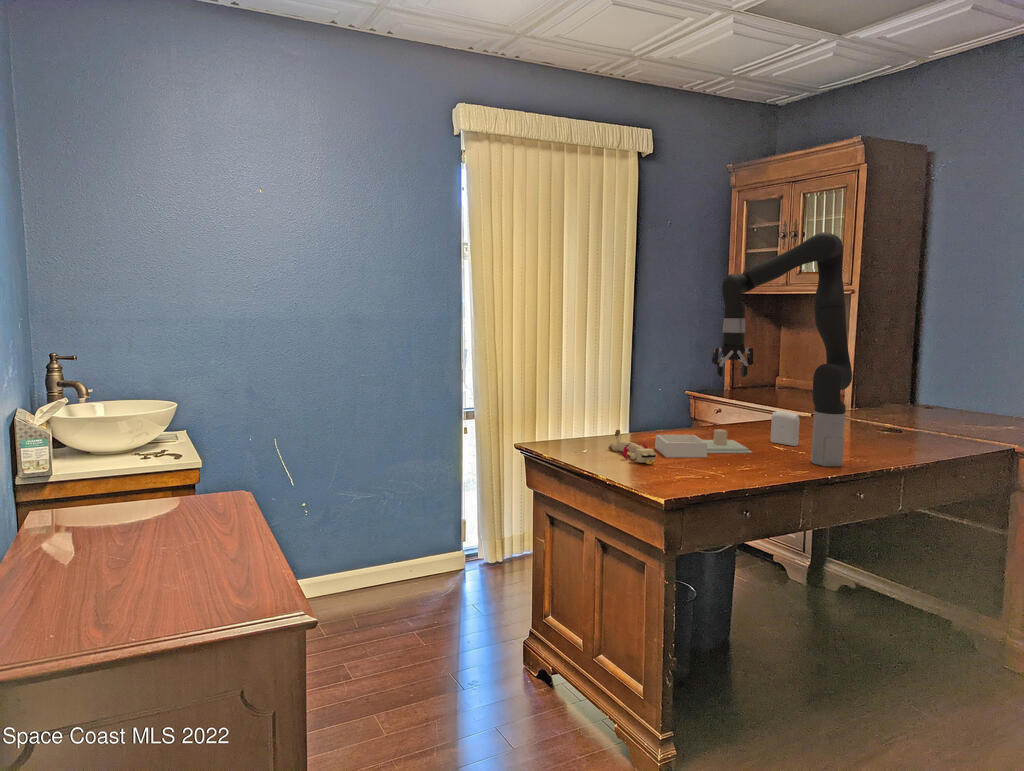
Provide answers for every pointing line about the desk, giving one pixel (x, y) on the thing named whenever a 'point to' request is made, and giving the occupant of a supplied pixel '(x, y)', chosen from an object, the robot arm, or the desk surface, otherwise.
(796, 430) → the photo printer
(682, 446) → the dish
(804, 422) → the desk surface
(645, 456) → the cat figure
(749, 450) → the mat
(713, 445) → the lid
